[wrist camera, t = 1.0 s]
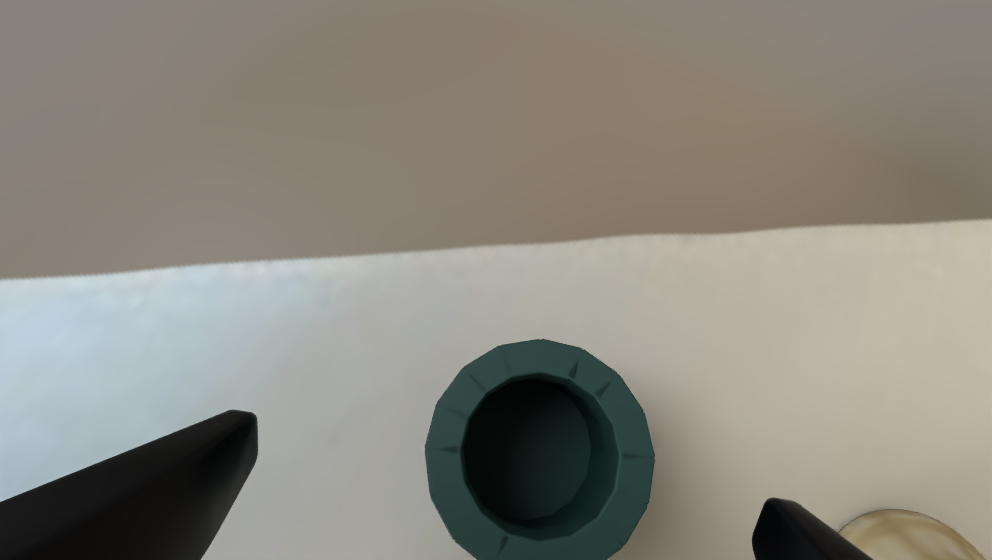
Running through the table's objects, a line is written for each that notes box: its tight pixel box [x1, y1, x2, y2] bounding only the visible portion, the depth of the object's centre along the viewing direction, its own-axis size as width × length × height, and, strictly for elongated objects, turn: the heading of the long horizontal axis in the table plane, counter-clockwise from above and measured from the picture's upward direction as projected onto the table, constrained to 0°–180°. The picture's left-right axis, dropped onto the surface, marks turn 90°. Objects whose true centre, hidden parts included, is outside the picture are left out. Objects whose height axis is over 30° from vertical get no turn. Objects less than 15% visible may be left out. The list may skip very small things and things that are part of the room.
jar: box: [425, 339, 655, 560], centre depth 19 cm, size 7×7×8 cm
